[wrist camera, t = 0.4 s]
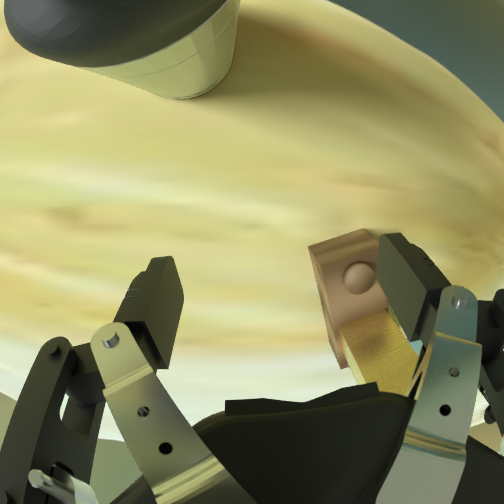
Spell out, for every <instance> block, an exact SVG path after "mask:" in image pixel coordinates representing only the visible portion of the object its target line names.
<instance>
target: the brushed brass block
mask: <svg viewBox="0 0 504 504" xmlns="http://www.w3.org/2000/svg"><path fill="white" fill-rule="evenodd" d="M338 329H339V335H340V341H341V347H342V351H343V353H344V356H345V358H346V360H347V362H348V364H349V367H350V369H351V371H352V373H353V375H354V378H355V380H356V382H357V384H358V385H361V384H366V383H370V382H375V381H376V382H377V385H378V388H379V391H385V392H392V393H397V394H401V395H403V396H404V395H405V393H406V390H407V388H408V385H409V382H410V380H411V377H412V374H413V371H414V368H415V365H416V362H417V358H418V355H417V354H416V352H415V351H414V349H413V348H412V346H411V345H410V344H409V342H408V341H407V339H406V338H405V337H404V335H403V334H402V332H401V331H400V329H399V328H398V327H397V325H396V324H395V323H394V321H393V320H392V318H391V317H390V316H389V314H388V313H387V312H386V310H385V309H384V308H383V309H380V310H378V311H375V312H373V313H370V314H368V315H365V316H362V317H360V318H357V319H354V320H352V321H349V322H346V323H344V324H341V325H338Z"/></svg>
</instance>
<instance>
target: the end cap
mask: <svg viewBox="0 0 504 504" xmlns="http://www.w3.org/2000/svg"><path fill="white" fill-rule="evenodd" d="M484 419H485V422H486V423H488V424H492V423H494V422H496V419H495V416H494V414H493V411H492V408H491V406H490V405H489V406H488V407H487V408H486V410H485V414H484Z"/></svg>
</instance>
